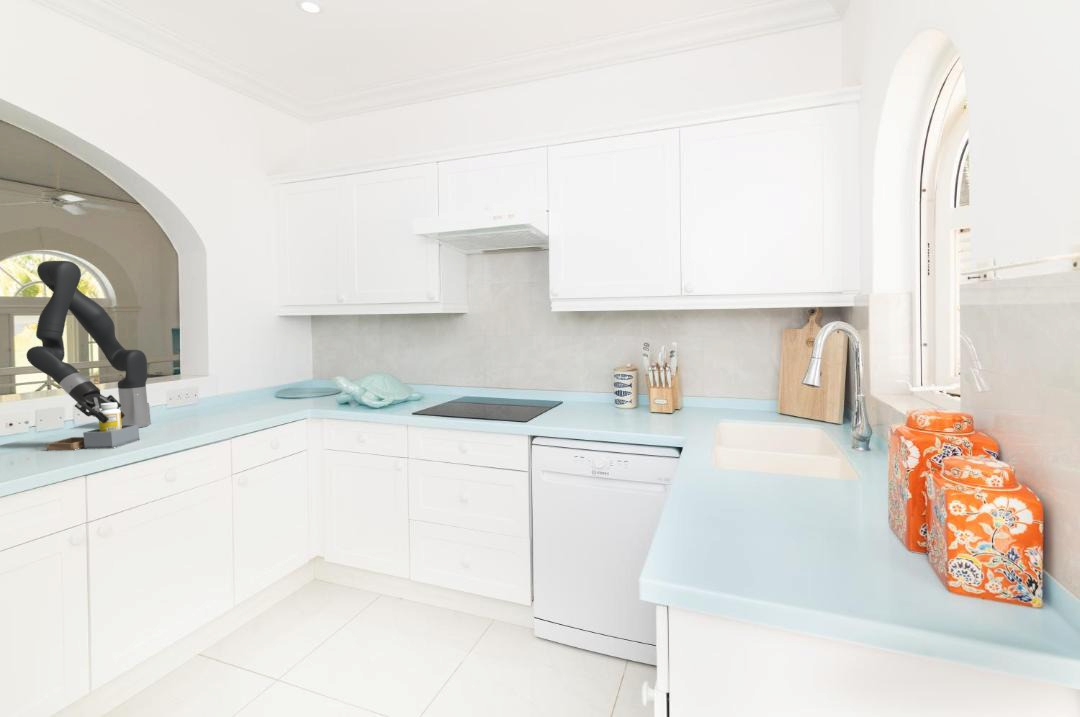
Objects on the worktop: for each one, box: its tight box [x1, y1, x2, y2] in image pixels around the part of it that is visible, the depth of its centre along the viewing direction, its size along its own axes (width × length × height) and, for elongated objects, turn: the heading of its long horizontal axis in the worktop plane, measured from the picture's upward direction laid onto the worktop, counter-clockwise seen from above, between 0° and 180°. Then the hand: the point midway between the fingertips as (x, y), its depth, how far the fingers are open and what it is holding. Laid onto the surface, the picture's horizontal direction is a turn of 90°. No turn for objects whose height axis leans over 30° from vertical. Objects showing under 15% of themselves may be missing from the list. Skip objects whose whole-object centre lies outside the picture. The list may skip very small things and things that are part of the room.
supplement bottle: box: [98, 402, 122, 432], centre depth 183 cm, size 6×6×11 cm
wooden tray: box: [46, 436, 85, 451], centre depth 181 cm, size 10×10×2 cm
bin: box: [82, 425, 140, 449], centre depth 184 cm, size 12×10×6 cm
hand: (114, 419), depth 183 cm, fingers closed on supplement bottle, 6 cm apart
